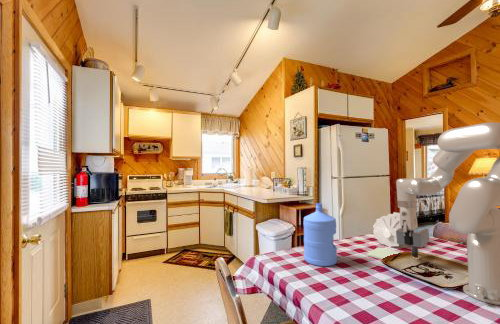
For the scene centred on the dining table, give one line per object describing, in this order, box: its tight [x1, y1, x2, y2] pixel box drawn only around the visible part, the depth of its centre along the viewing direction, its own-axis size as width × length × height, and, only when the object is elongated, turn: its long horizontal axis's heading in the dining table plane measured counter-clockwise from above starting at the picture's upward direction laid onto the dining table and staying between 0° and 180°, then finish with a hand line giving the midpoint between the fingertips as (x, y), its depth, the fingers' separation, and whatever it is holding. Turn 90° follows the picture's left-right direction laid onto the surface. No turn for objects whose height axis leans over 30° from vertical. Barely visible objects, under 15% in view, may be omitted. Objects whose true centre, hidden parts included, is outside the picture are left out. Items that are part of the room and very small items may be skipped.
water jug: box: [303, 202, 338, 267], centre depth 118 cm, size 16×16×28 cm
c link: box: [396, 228, 430, 248], centre depth 116 cm, size 14×10×6 cm
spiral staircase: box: [372, 211, 401, 248], centre depth 144 cm, size 18×18×25 cm
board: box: [366, 246, 401, 260], centre depth 125 cm, size 16×11×1 cm
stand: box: [411, 246, 421, 259], centre depth 120 cm, size 4×4×10 cm
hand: (409, 243), depth 112 cm, fingers closed on c link
